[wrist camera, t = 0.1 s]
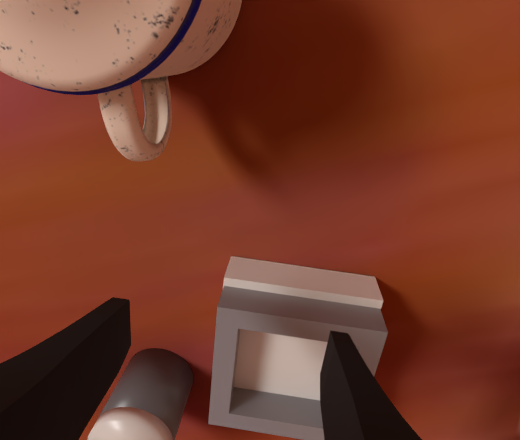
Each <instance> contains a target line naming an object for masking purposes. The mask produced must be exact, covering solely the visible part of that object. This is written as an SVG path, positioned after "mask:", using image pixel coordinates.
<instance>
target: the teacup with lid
mask: <svg viewBox="0 0 520 440" xmlns="http://www.w3.org/2000/svg"><path fill="white" fill-rule="evenodd" d="M241 4H242V0H0V71H1V72H3V73H5V74H7V75H9V76H11V77H13V78H15V79H18V80H20V81H22V82H24V83H27V84H29V85H32V86H35V87H37V88H41V89H44V90H48V91H51V92H57V93H63V94H73V95H91V94H97V96H98V100H99V104H100V108H101V112H102V116H103V120H104V123H105V126H106V129H107V131H108V134H109V136H110V138H111V140H112V142H113V143H114V145H115V147H116V148H117V149H118V151H119V152H120V153H121V154H122V155H123V156H124V157H126V158H127V159H129V160H132V161H148V160H153V159H155V158H157V157H158V156H159V155H160V154H161V153H162V152H163V150H164V148H165V146H166V144H167V142H168V139H169V135H170V130H171V122H172V105H171V95H170V88H169V82H168V76H171V75H178V74H181V73H185V72H188V71H190V70H193V69H195V68H197V67H198V66H200V65H202V64H203V63H205V62H206V61H208V60H209V59H210V58H211V57H212V56H213V55H214V54H215V53H216V52H217V51H218V50H219V49H220V48H221V47H222V45H223V44H224V43H225V42H226V40H227V38H228V37H229V35H230V34H231V32H232V30H233V28H234V26H235V23H236V21H237V18H238V15H239V12H240V8H241ZM138 80H141V84H142V90H143V97H144V105H145V120H144V126H143V130H142V128H141V125H140V122H139V119H138V115H137V111H136V106H135V102H134V97H133V92H132V86H131V84H132V83H134V82H136V81H138Z"/></svg>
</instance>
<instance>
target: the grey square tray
mask: <svg viewBox="0 0 520 440" xmlns="http://www.w3.org/2000/svg"><path fill="white" fill-rule="evenodd" d="M382 304H383V298H382V295H381V292H380V289H379V286H378V284H377V281H376V278H375V277H373V276H366V275H359V274H352V273H345V272H338V271H331V270H324V269H317V268H310V267H304V266H297V265H290V264H283V263H276V262H269V261H262V260H255V259H248V258H241V257H234V256H231V258H230V261H229V264H228V267H227V270H226V273H225V276H224V284H223V291H222V294H221V297H220V300H219V303H218V306H217V318H216V331H215V343H214V356H213V369H212V382H211V395H210V407H209V420H208V424H212V425H218V426H224V427H230V428H236V429H242V430H248V431H254V432H261V433H267V434H273V435H279V436H285V437H291V438H297V439H303V440H324V431H323V423H322V415H321V406H320V372H321V368H322V364H323V359H324V355H325V351H326V347H327V343H328V338H329V334H330V330H331V331H337V332H344V333H348V334H349V335H350V337H351V339H352V341H353V342H354V344H355V346H356V348H357V350H358V351H359V353H360V355H361V357H362V358H363V360H364V362H365V363H366V365H367V367H368V368H369V370H370V371H371V373H372V375H373V376H375V372H376V369H377V366H378V363H379V360H380V357H381V353H382V350H383V347H384V344H385V341H386V338H387V334H388V331H387V328H386V325H385V322H384V319H383V315H382V312H381V308H382Z"/></svg>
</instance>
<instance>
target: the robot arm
mask: <svg viewBox="0 0 520 440" xmlns="http://www.w3.org/2000/svg"><path fill="white" fill-rule="evenodd" d="M130 346H131V331H130V302H129V300H127V299H120V298H114V297H113V298H111V299H110V300H108V301H106V302H105V303H103V304H102V305H100V306H99V307H97V308H96V309H94V310H93V311H91V312H90V313H88V314H87V315H85V316H84V317H82V318H81V319H79V320H77V321H76V322H74V323H73V324H71V325H70V326H68V327H66V328H65V329H63V330H62V331H60V332H58V333H57V334H55V335H53V336H51V337H50V338H48V339H46V340H45V341H43V342H41V343H39V344H38V345H36V346H34V347H32V348H31V349H29V350H27V351H25V352H23V353H21V354H19V355H17V356H15V357H13V358H11V359H9V360H7V361H5V362H3V363H1V364H0V440H79V438H80V436H81V434H82V432H83V431H84V429H85V427H86V426H87V424H88V422H89V421H90V419H91V417H92V416H93V414H94V412H95V411H96V409H97V407H98V406H99V404H100V402H101V401H102V399H103V397H104V396H105V394H106V393H107V391H108V389H109V387H110V386H111V384H112V382H113V381H114V379H115V377H116V376H117V374H118V372H119V370H120V368H121V366H122V364H123V362H124V360H125V357H126V355H127V353H128V350H129V348H130ZM320 406H321V415H322V423H323V431H324V440H422V439H421V438H420V437H419V436H418V435H417V434H416V433H415V431H414V430H413V429H412V428H411V427H410V425H409V424H408V423H407V422H406V421H405V419H404V418H403V417H402V416H401V414H400V413H399V412H398V411H397V409H396V408H395V407H394V405H393V404H392V402H391V401H390V400H389V398H388V397H387V396H386V394H385V393H384V391H383V390H382V388H381V387H380V385H379V384H378V382H377V381H376V379H375V378H374V376H373V375H372V373H371V371H370V370H369V368H368V367H367V365H366V363H365V362H364V360H363V358H362V357H361V355H360V353H359V351H358V350H357V348H356V346H355V344H354V342H353V341H352V339H351V337H350V335H349V334H348V333H344V332H337V331H331V330H330V334H329V338H328V343H327V347H326V351H325V355H324V359H323V364H322V368H321V372H320Z"/></svg>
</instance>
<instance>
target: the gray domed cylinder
mask: <svg viewBox="0 0 520 440" xmlns="http://www.w3.org/2000/svg"><path fill="white" fill-rule="evenodd" d="M193 380H194V378H193V372H192V370H191V368H190V366H189V365H188V363H187V362H186V361H185V360H184V359H183V358H181V357H180V356H179V355H177V354H175V353H173V352H171V351H168V350H164V349H158V348H151V349H145V350H142V351H140V352H138V353H137V354H135V355H134V356H133V357H132V359H131V360H130V362H129V364H128V366H127V367H126V369H125V371H124V373H123V375H122V376H121V378H120V380H119V382H118V384H117V385H116V387H115V389H114V391H113V393H112V394H111V396H110V398H109V400H108V402H107V403H106V405H105V407H104V409H103V411H102V412H101V414H100V416H99V418H98V420H97V421H96V423H95V425H94V427H93V429H92V430H91V432H90V434H89V436H88V440H175V437H176V434H177V431H178V428H179V425H180V422H181V418H182V415H183V412H184V409H185V406H186V403H187V400H188V397H189V394H190V391H191V388H192V385H193Z"/></svg>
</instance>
